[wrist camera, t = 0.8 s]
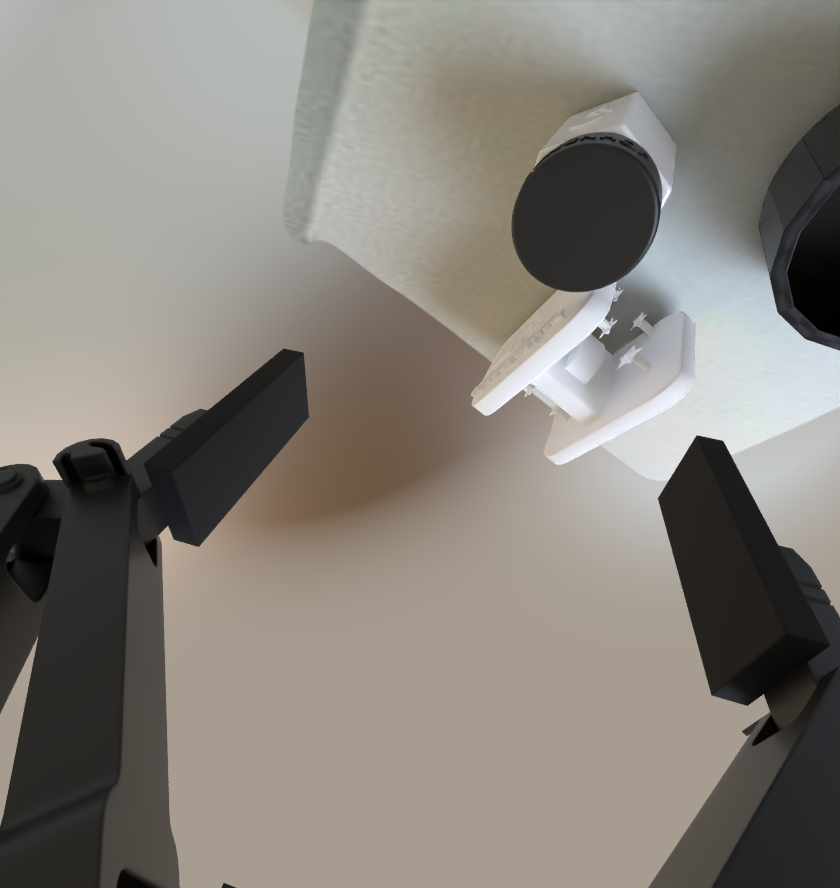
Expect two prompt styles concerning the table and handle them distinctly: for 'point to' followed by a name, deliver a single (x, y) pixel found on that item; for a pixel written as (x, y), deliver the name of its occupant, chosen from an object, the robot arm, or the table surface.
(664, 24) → the table surface
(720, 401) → the table surface
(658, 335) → the cable organizer
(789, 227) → the pot
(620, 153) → the jar
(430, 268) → the table surface
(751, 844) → the robot arm
